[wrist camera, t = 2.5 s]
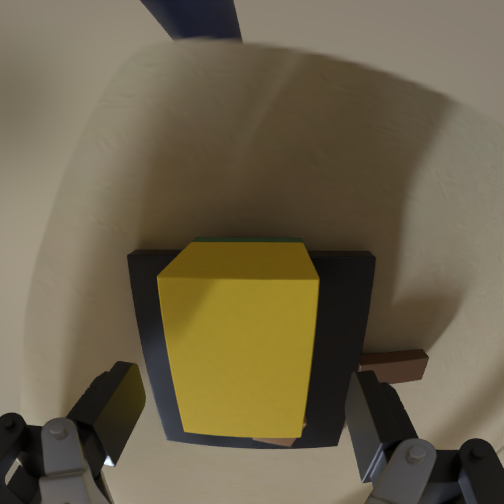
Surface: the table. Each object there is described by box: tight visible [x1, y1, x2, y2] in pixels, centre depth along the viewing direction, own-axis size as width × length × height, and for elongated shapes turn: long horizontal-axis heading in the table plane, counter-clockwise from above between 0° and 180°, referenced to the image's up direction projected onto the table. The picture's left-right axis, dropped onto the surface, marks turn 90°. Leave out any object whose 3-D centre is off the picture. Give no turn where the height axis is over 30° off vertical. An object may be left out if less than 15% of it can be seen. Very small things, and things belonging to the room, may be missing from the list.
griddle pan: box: [127, 250, 429, 449], centre depth 18 cm, size 16×19×2 cm
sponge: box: [157, 238, 320, 438], centre depth 14 cm, size 8×6×6 cm
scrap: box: [253, 416, 307, 447], centre depth 19 cm, size 3×3×1 cm
